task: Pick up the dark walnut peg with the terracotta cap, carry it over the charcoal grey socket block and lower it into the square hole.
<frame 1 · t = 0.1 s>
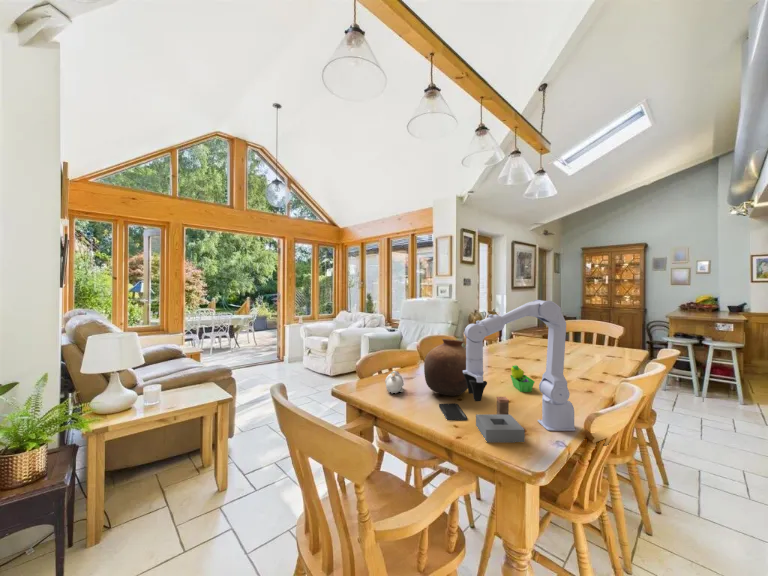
hand: (474, 397, 114), 10 cm above the table, tool pointing down, fingers open, 7 cm apart
pottery: (449, 393, 148), on the table
peg: (502, 420, 119), on the table
white rounded piece: (394, 391, 152), on the table
fruit basket: (520, 389, 154), on the table
phone: (452, 413, 126), on the table
socket block: (498, 433, 108), on the table
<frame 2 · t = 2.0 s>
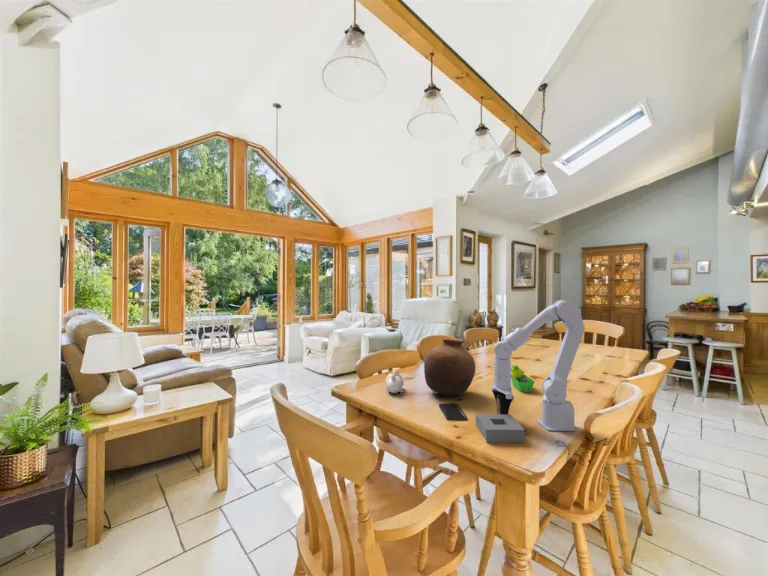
hand: (502, 412, 119), 3 cm above the table, tool pointing down, fingers closed on peg, 3 cm apart
peg: (502, 420, 119), on the table, touching gripper
everything else where it was.
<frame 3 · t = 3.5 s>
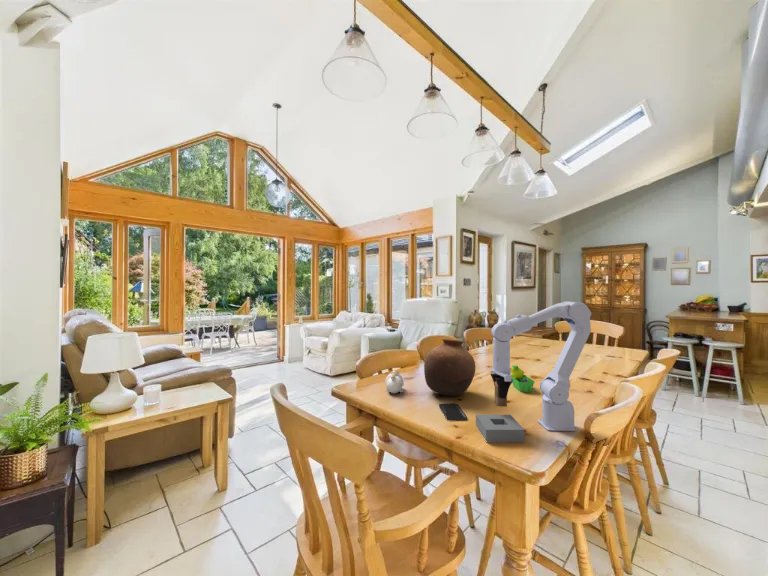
hand: (501, 396, 115), 10 cm above the table, tool pointing down, fingers closed on peg, 3 cm apart
peg: (500, 404, 115), point 7 cm above the table, touching gripper
everything else where it was.
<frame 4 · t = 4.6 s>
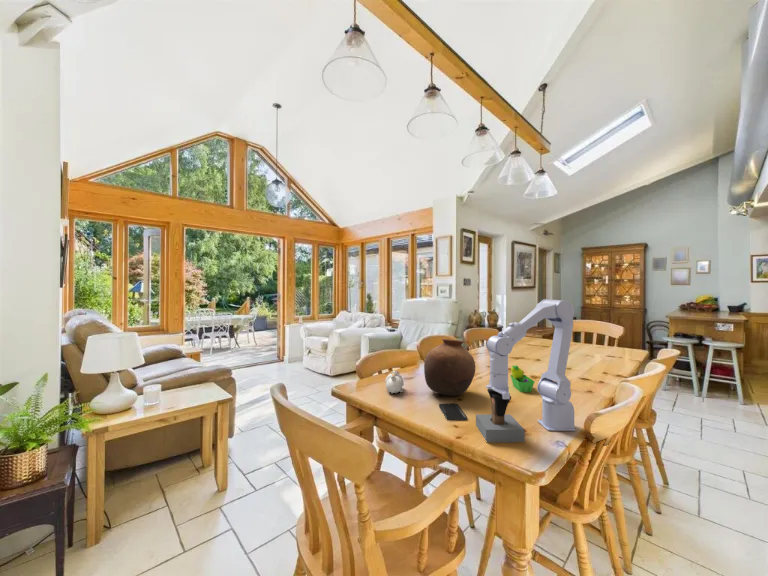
hand: (498, 413, 108), 7 cm above the table, tool pointing down, fingers closed on peg, 3 cm apart
peg: (497, 423, 108), point 4 cm above the table, touching gripper
everything else where it was.
when the fingers open (5 cm above the table, at t = 5.3 s): peg drops 1 cm, resting on socket block.
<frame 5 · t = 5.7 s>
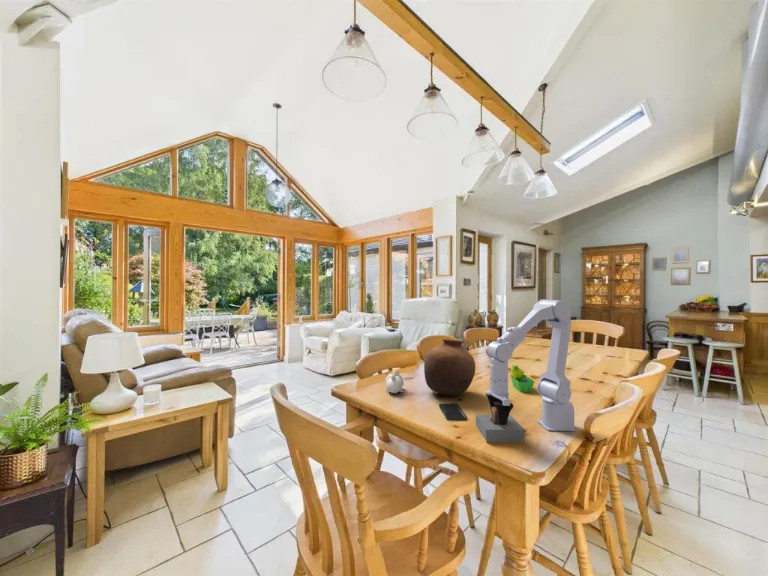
hand: (498, 419, 108), 5 cm above the table, tool pointing down, fingers open, 7 cm apart
peg: (498, 432, 108), resting on socket block
everything else where it was.
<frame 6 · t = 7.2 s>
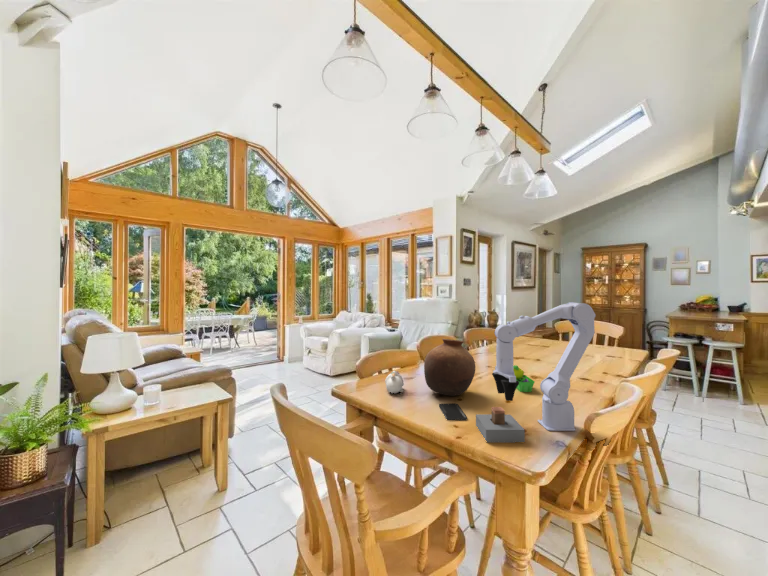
hand: (505, 396, 116), 9 cm above the table, tool pointing down, fingers open, 7 cm apart
nothing on the table moved.
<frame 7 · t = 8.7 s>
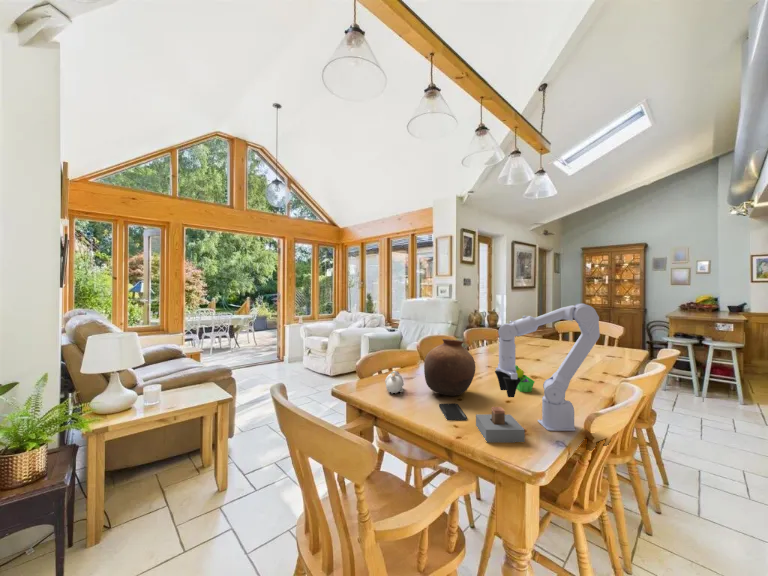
hand: (507, 393, 120), 9 cm above the table, tool pointing down, fingers open, 7 cm apart
nothing on the table moved.
at the end: peg 0.3 cm off-centre on the socket block, point 0.3 cm above the socket block's base; peg tilted 0°; the gripper is holding nothing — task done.
